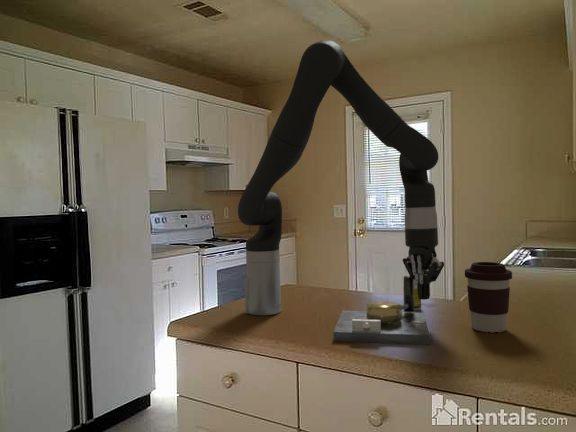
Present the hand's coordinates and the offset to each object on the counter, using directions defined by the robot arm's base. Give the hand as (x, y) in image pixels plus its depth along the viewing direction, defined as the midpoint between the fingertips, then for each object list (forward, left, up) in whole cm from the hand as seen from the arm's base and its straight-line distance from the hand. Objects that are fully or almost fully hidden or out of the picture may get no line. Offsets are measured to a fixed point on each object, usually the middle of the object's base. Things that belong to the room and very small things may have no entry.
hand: (423, 298), depth 109 cm
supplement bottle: (-2, +16, -7) cm, 18 cm away
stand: (-10, -6, -6) cm, 13 cm away
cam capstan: (-7, -2, -4) cm, 8 cm away
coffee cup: (+14, -2, -7) cm, 16 cm away
